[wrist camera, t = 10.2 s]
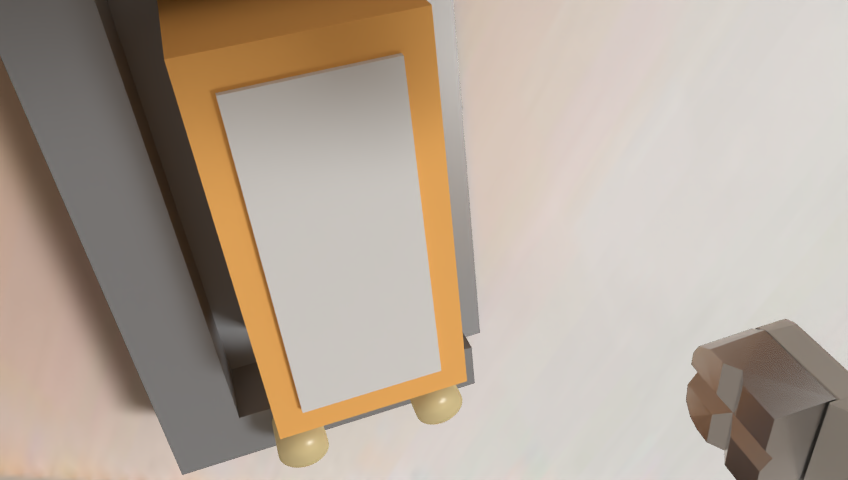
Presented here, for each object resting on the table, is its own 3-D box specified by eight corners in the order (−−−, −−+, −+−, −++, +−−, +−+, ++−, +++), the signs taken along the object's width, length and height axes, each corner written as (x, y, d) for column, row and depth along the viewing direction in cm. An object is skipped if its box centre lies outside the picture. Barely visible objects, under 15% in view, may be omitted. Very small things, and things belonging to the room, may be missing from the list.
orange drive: (156, -8, 17) (164, 62, 13) (371, -48, 18) (434, 7, 14) (255, 329, 23) (281, 443, 19) (415, 284, 24) (469, 385, 20)
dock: (-44, -122, 15) (-84, -90, 12) (433, -195, 17) (495, -182, 14) (177, 416, 24) (184, 508, 21) (476, 326, 26) (520, 399, 23)
